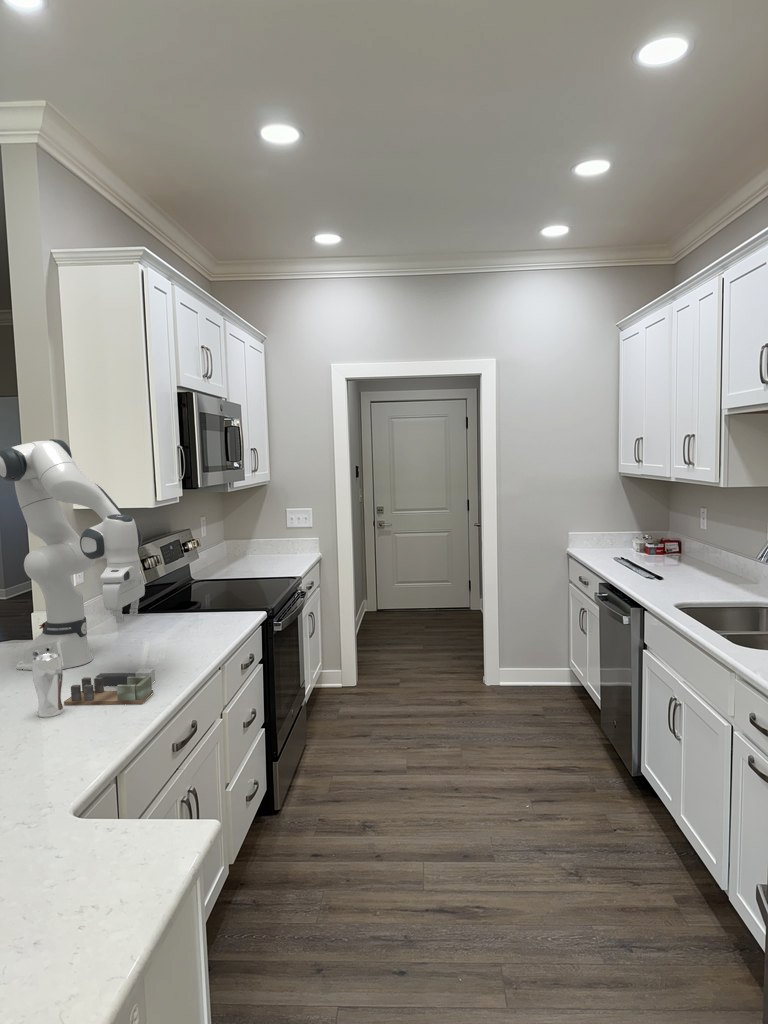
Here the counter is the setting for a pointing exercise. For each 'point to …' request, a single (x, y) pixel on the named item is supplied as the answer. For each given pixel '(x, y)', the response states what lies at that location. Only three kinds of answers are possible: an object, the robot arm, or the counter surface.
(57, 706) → the beer glass
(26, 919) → the counter surface
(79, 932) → the counter surface
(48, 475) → the robot arm
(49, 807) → the counter surface
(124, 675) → the dark grey square bar
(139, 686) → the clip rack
